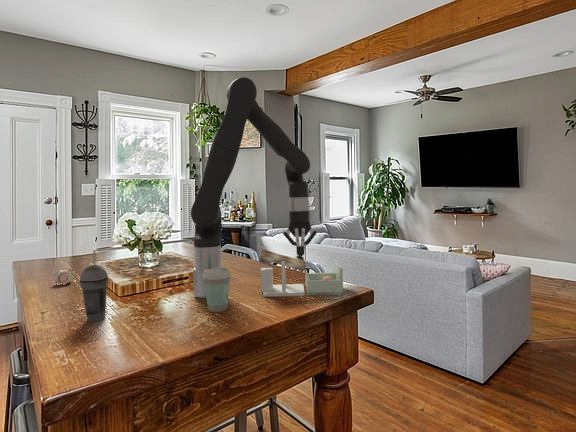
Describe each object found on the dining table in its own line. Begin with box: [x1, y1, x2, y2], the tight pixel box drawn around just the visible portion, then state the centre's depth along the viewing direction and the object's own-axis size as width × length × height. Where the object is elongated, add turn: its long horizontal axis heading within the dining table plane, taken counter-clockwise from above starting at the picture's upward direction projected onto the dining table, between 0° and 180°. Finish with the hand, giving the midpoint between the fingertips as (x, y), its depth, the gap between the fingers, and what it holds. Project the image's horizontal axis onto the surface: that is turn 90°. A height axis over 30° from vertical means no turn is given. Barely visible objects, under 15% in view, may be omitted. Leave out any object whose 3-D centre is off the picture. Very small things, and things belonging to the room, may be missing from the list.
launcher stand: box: [259, 261, 306, 298], centre depth 128 cm, size 15×12×12 cm
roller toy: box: [53, 269, 73, 284], centre depth 148 cm, size 4×6×6 cm
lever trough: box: [259, 245, 307, 272], centre depth 131 cm, size 16×13×5 cm
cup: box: [305, 261, 344, 297], centre depth 129 cm, size 12×12×9 cm
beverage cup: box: [79, 249, 109, 323], centre depth 104 cm, size 7×7×20 cm
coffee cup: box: [202, 267, 232, 313], centre depth 110 cm, size 8×9×12 cm
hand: (300, 256), depth 135 cm, fingers closed
